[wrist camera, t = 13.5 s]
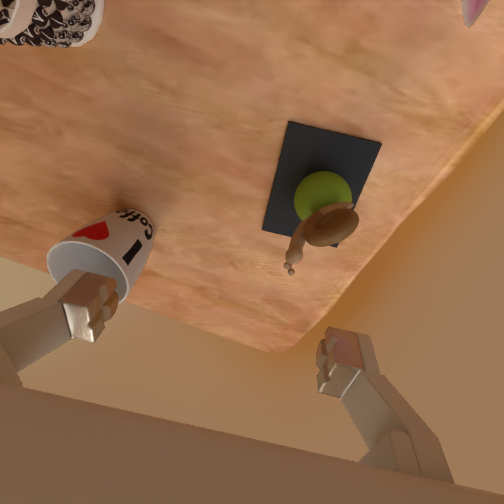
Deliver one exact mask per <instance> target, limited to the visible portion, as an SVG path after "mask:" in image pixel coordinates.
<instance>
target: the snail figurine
mask: <svg viewBox="0 0 504 504" xmlns="http://www.w3.org/2000/svg"><path fill="white" fill-rule="evenodd" d="M353 205H354V204H353V203H352V194H351V190H350V187H349V185H348V184H347V182H346V181H345V180H344V179H343V178H342V177H341V176H339V175H338V174H336V173H333V172H329V171H319V172H315V173H312V174H310V175H309V176H307V177H306V178H304V179H303V180H302V181H301V183H300V184H299V185H298V187H297V189H296V192H295V195H294V206H295V210H296V212H297V214H298V216H299V217H300V219H301V220H302V222H301V223H300V224H299V226H298V227H297V229H296V230H295V232H294V234H293V236H292V238H291V241H290V245H289V249H288V250H287V252H286V262H285V263H284V268H285V269H289V268H290V269H289V270H288V274H289V275H291V276H292V275H294V273H295V271H294V269H291V266H292V264H295V263H298V262H299V261H300V260H301V259H302V257H303V252H302V249H303V246H304V243H305V240H306V241H307V242H308V243H309V244H310V245H313V246H316V247H325V246H330V245H333V244H336V243H338V242H340V241H342V240H344V239H346V238H347V237H348V236H350V235H351V234H352V233H353V232H354V230H355V229H356V228H357V225H358V222H359V217H358V214H357V213H356V212H355V211H354V210H352V209H351V208H352V207H353ZM288 262H289V263H288ZM290 263H291V266H290Z"/></svg>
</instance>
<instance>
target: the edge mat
mask: <svg viewBox="0 0 504 504" xmlns="http://www.w3.org/2000/svg"><path fill="white" fill-rule="evenodd" d="M381 145H382V143H379V142H375V141H371V140H367V139H362V138H358V137H354V136H350V135H345V134H341V133H337V132H333V131H329V130H324V129H320V128H316V127H312V126H307V125H303V124H299V123H295V122H291V121H289V123H288V127H287V131H286V135H285V139H284V143H283V147H282V151H281V155H280V159H279V163H278V167H277V171H276V175H275V179H274V183H273V187H272V191H271V195H270V199H269V203H268V207H267V211H266V215H265V219H264V223H263V227H262V230H264V231H268V232H272V233H276V234H281V235H285V236H289V237H292V236H293V234H294V232H295V230H296V229H297V227H298V226H299V224H300V223H301V222H302V220H301V219H300V217H299V216H298V214H297V212H296V210H295V206H294V195H295V192H296V189H297V187H298V185H299V184H300V183H301V181H302V180H303V179H304V178H306V177H307V176H309V175H310V174H312V173H315V172H319V171H329V172H333V173H336V174H338V175H339V176H341V177H342V178H343V179H344V180H345V181H346V182H347V184H348V185H349V187H350V190H351V194H352V203H353V204H354V205H353V207H352V208H351V209H352V210H353V209H354V207H355V205H356V203H357V200H358V198H359V196H360V193H361V191H362V189H363V187H364V184H365V182H366V180H367V177H368V175H369V173H370V171H371V168H372V166H373V164H374V161H375V159H376V157H377V154H378V152H379V150H380V148H381ZM338 244H339V242H338V243H336V244H333V245H330V246H332V247H336V248H337V246H338Z"/></svg>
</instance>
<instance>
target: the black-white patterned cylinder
mask: <svg viewBox="0 0 504 504" xmlns="http://www.w3.org/2000/svg"><path fill="white" fill-rule="evenodd" d="M104 2H105V0H0V44H6V43H7V41H9V42H11V43H12V44H14V45H18V46H20V45H24V44H25V42H26V43H28V44H29V45H32V46H42V45H44V46H46V47H57V46H58V47H62V48H67V47H70V46H76V47H80V46H82V45H83V44H85V43H87V42H88V41H90V40H91V39H93V38H94V37H95V35H96V33H97V31H98V29H99V27H100V25H101V24H102V22H103V12H104Z"/></svg>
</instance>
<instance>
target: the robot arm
mask: <svg viewBox="0 0 504 504" xmlns="http://www.w3.org/2000/svg"><path fill="white" fill-rule="evenodd" d="M116 287H117V282H116V279H114V278H110V277H106V276H102V275H98V274H94V273H90V272H85V271H81V270H77V269H74V270H72V271H70V272H69V273H68V274H67V275H66V276H65V277H64V278H63V279H62V280H61V281H60V282H59V283H58V284H57V285H56V286H54V288H53V289H51V290H50V291H49V292H48V293H47V294H46V295H45V296H44V297H43V298H35V299H33V300H30V301H28V302H25V303H22V304H20V305H17V306H15V307H12V308H9V309H7V310H4V311H1V312H0V504H504V495H502V494H497V493H492V492H488V491H483V490H479V489H475V488H470V487H466V486H461V485H457V484H454V481H453V478H452V475H451V473H450V470H449V467H448V464H447V461H446V459H445V456H444V453H443V451H442V448H441V445H440V442H439V440H438V438H437V436H436V435H435V434H434V433H433V432H432V431H431V429H430V428H429V427H428V426H427V425H426V423H425V422H424V421H423V420H422V419H421V418H420V416H419V415H418V414H417V413H416V412H415V411H414V409H413V408H412V407H411V406H410V405H409V404H408V402H407V401H406V400H405V399H404V398H403V397H402V396H401V394H400V393H399V392H398V391H397V390H396V388H395V387H394V386H393V385H392V384H391V383H390V382H389V380H388V379H387V378H386V377H385V376H384V375H381V374H380V371H379V368H378V364H377V360H376V356H375V353H374V349H373V345H372V341H371V338H370V336H368V335H365V334H361V333H356V332H351V331H347V330H342V329H338V328H333V327H328V328H327V329H326V331H325V339H323V340H321V341H320V343H319V345H318V349H317V353H316V365H317V366H318V368H319V369H320V371H319V373H318V375H317V381H318V392H319V393H322V394H326V395H330V396H334V397H338V398H341V401H342V403H343V404H344V406H345V408H346V410H347V411H348V413H349V415H350V417H351V418H352V420H353V422H354V424H355V425H356V427H357V429H358V431H359V432H360V434H361V435H362V437H363V439H364V441H365V443H366V445H367V446H368V448H369V450H370V451H369V452H368V453H367V454H366V455H365V456H364V457H363V458H362V459H361V460H360V461H359V462H354V461H350V460H345V459H341V458H336V457H332V456H327V455H322V454H318V453H314V452H309V451H305V450H300V449H296V448H292V447H287V446H283V445H278V444H273V443H269V442H265V441H260V440H256V439H252V438H247V437H243V436H238V435H234V434H229V433H225V432H220V431H216V430H211V429H207V428H203V427H198V426H194V425H189V424H185V423H180V422H175V421H171V420H167V419H162V418H158V417H153V416H149V415H145V414H140V413H135V412H131V411H127V410H122V409H118V408H113V407H109V406H104V405H100V404H95V403H91V402H86V401H82V400H77V399H73V398H68V397H64V396H59V395H55V394H51V393H46V392H42V391H37V390H32V389H28V388H24V387H23V385H22V382H21V380H20V378H19V376H18V374H17V372H19V371H20V370H22V369H24V368H25V367H27V366H28V365H30V364H32V363H33V362H35V361H36V360H38V359H40V358H41V357H43V356H45V355H46V354H48V353H50V352H51V351H53V350H54V349H56V348H58V347H59V346H61V345H62V344H64V343H66V342H67V341H69V340H71V338H75V339H81V340H86V341H91V342H95V341H96V339H97V338H98V337H99V335H100V334H101V332H102V331H103V330H104V328H105V327H104V322H106V321H107V320H110V319H111V318H112V317H113V315H114V314H115V312H116V309H117V307H118V301H119V297H118V294H117V293H116V292H115V289H116Z"/></svg>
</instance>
